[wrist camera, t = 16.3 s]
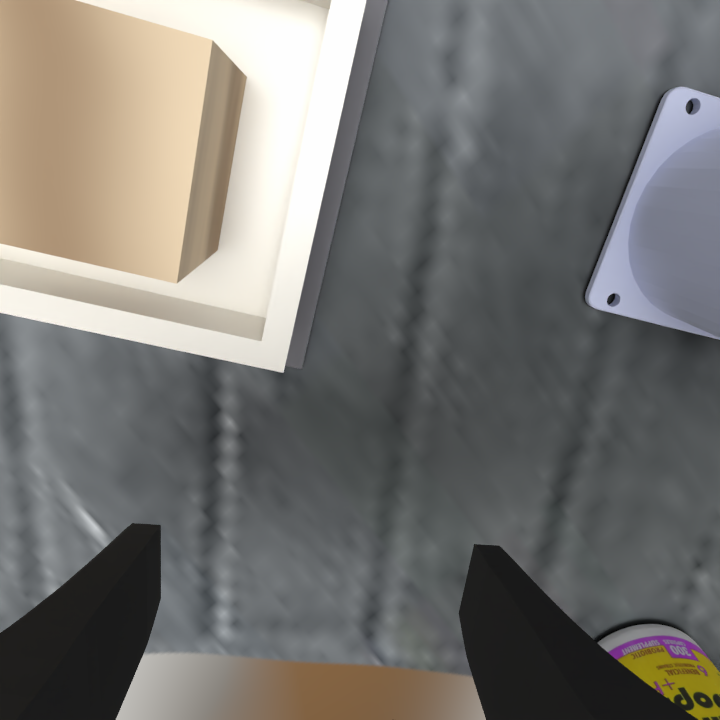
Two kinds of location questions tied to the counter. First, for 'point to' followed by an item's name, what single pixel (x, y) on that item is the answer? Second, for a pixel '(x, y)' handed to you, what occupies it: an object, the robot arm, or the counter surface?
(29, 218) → the wooden block
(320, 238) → the flat gray panel
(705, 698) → the supplement bottle
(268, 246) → the white square tray
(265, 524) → the counter surface
